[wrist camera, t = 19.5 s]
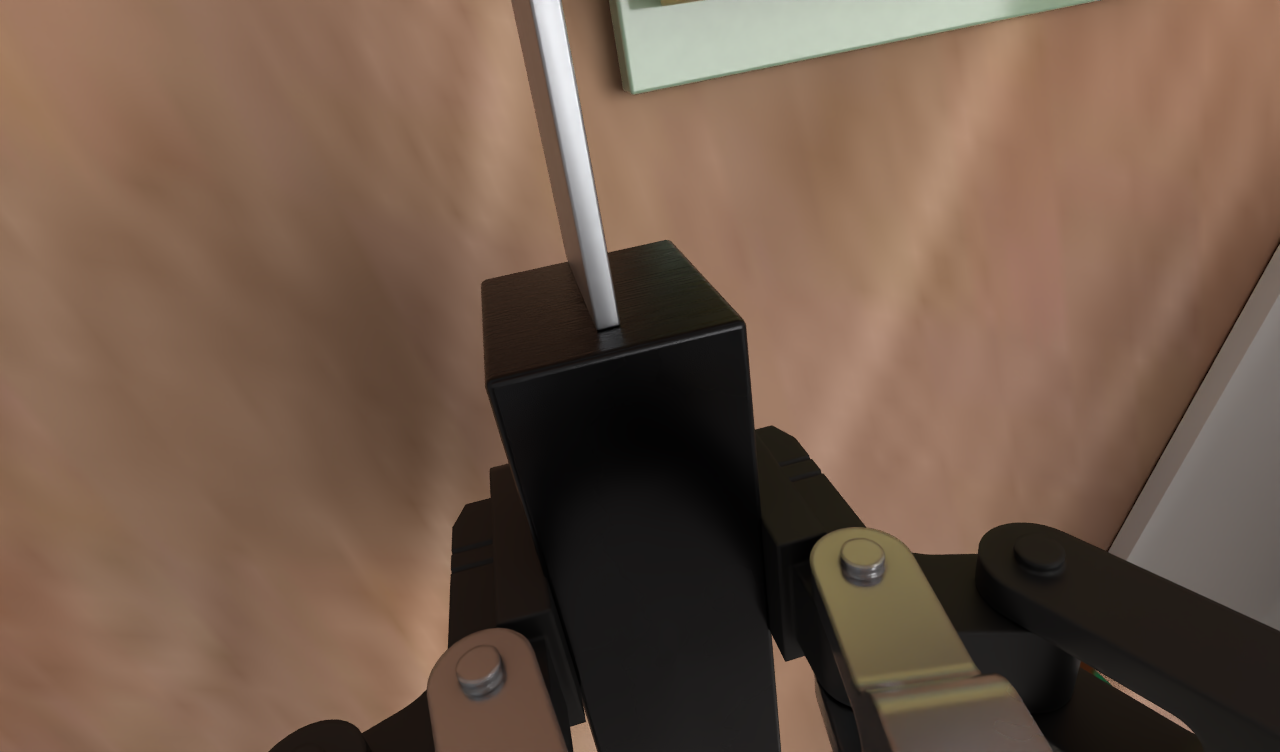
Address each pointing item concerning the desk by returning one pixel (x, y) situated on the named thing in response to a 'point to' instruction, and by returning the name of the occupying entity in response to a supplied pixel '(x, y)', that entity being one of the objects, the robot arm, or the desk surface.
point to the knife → (633, 457)
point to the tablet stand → (1222, 475)
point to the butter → (676, 2)
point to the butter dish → (779, 32)
